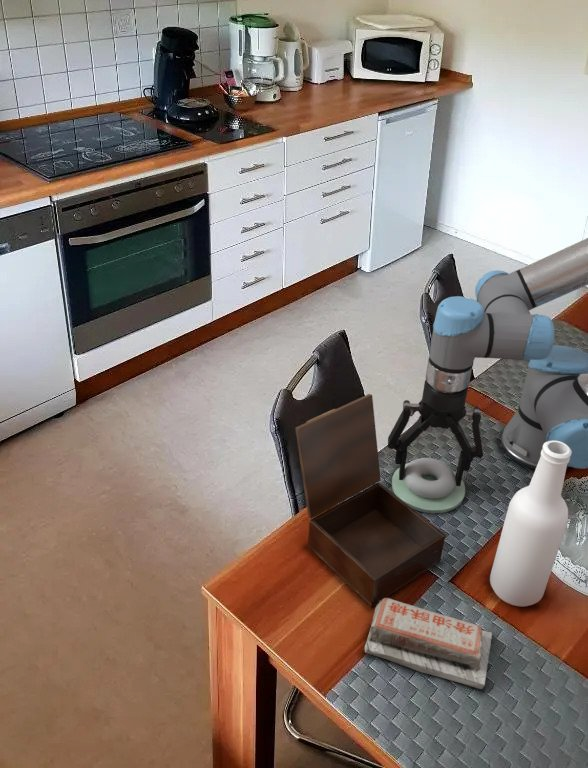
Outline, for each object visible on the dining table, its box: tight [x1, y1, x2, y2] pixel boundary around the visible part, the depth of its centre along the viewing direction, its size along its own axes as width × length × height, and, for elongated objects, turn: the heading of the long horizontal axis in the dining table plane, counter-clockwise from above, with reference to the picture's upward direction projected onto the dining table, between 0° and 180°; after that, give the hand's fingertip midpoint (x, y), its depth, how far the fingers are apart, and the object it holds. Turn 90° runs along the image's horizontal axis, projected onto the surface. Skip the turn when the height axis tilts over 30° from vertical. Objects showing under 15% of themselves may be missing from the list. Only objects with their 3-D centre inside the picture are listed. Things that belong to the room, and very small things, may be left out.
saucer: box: [391, 462, 466, 514], centre depth 142 cm, size 14×14×1 cm
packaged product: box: [363, 597, 493, 690], centre depth 111 cm, size 18×5×10 cm
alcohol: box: [489, 441, 572, 608], centre depth 114 cm, size 9×9×30 cm
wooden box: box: [307, 481, 447, 609], centre depth 126 cm, size 16×16×7 cm
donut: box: [403, 457, 456, 499], centre depth 141 cm, size 10×3×10 cm
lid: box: [294, 393, 382, 520], centre depth 127 cm, size 17×16×5 cm
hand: (429, 478), depth 141 cm, fingers open, 10 cm apart
